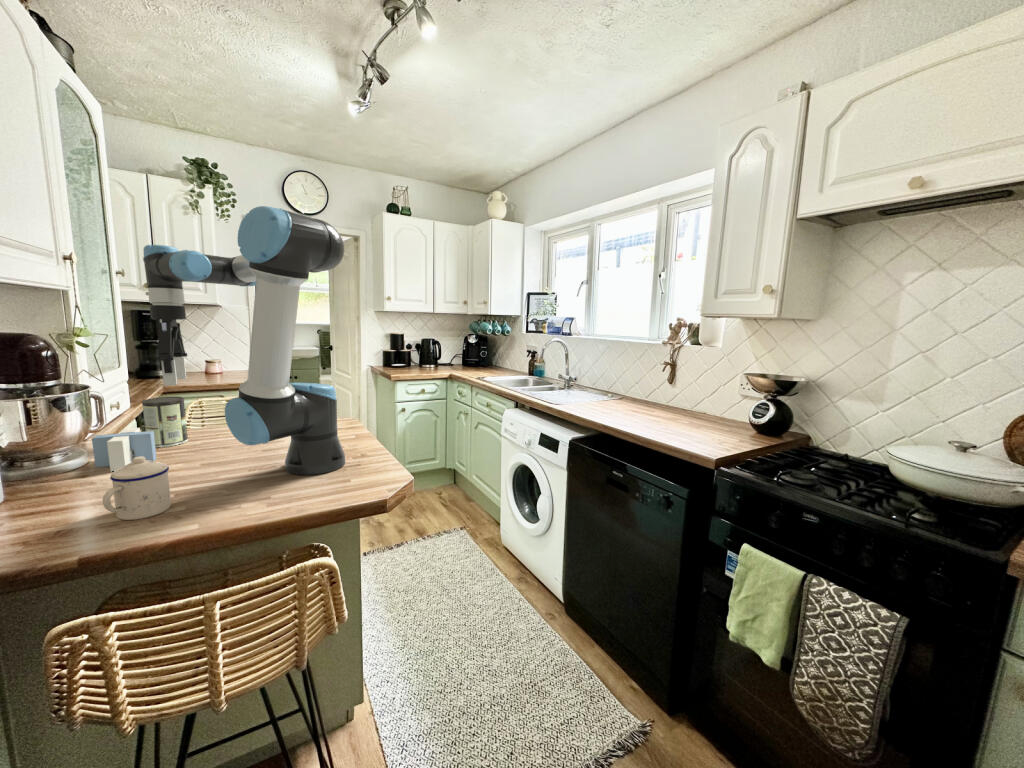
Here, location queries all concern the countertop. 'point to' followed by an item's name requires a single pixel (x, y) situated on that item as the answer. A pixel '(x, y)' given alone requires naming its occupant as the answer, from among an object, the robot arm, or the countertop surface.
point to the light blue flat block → (138, 441)
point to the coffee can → (166, 420)
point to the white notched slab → (120, 450)
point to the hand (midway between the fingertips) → (175, 382)
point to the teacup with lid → (139, 490)
